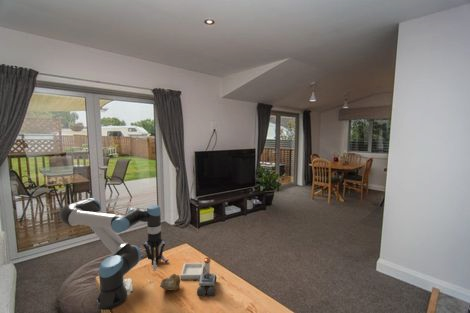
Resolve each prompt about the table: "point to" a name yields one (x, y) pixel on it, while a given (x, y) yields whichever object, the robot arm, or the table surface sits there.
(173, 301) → the table surface
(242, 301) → the table surface
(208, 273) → the pin
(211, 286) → the trolley
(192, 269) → the tray
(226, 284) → the table surface
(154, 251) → the toy
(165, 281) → the rock
